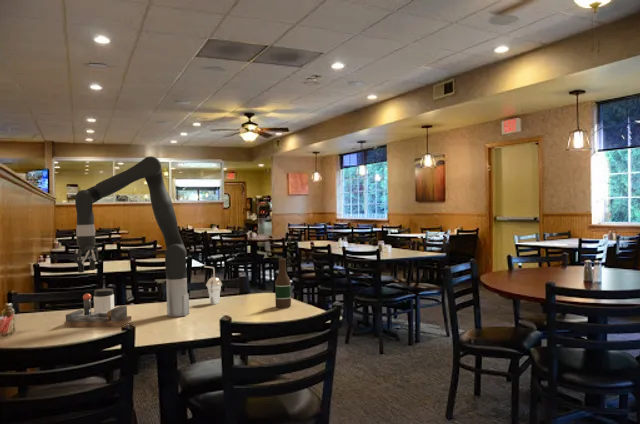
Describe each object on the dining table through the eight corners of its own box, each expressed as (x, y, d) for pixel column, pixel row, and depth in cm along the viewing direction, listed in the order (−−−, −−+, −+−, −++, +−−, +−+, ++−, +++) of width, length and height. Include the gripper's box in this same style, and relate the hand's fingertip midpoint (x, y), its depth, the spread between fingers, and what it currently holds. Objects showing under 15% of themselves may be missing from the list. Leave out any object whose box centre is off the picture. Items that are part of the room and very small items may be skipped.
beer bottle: (294, 305, 243) (293, 258, 243) (285, 308, 237) (283, 259, 237) (281, 304, 248) (280, 257, 247) (272, 307, 241) (271, 259, 241)
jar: (95, 317, 225) (94, 292, 225) (92, 314, 232) (92, 289, 232) (116, 315, 230) (115, 289, 230) (112, 312, 237) (112, 287, 237)
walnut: (118, 318, 215) (118, 309, 215) (113, 320, 211) (113, 310, 211) (109, 318, 215) (109, 309, 215) (104, 320, 211) (104, 310, 211)
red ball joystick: (100, 316, 217) (100, 292, 217) (92, 320, 210) (91, 294, 210) (85, 316, 218) (85, 292, 218) (76, 320, 211) (76, 294, 211)
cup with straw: (220, 305, 249) (220, 266, 249) (203, 305, 250) (202, 266, 249) (224, 301, 258) (223, 264, 258) (207, 302, 258) (206, 264, 258)
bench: (131, 320, 218) (131, 304, 218) (117, 327, 206) (117, 310, 206) (80, 320, 221) (80, 305, 221) (64, 326, 209) (64, 310, 209)
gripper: (84, 235, 209) (85, 273, 209) (102, 233, 223) (103, 269, 223) (67, 236, 210) (69, 273, 210) (87, 234, 224) (88, 269, 224)
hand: (86, 271), depth 217 cm, fingers open, 8 cm apart
